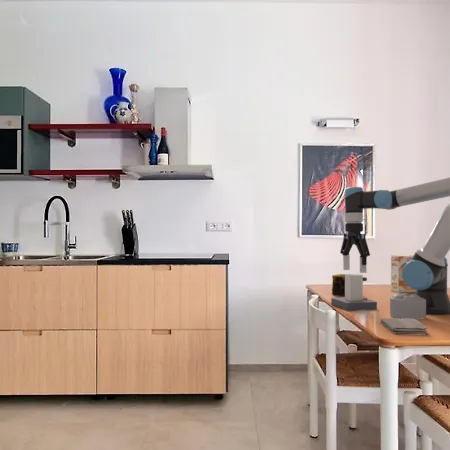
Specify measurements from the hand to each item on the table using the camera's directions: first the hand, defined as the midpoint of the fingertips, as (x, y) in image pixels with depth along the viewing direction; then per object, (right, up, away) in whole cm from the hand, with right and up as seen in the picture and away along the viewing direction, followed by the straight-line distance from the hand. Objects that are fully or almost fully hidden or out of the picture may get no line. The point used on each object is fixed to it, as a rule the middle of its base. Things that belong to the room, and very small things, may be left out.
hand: (354, 271), depth 197 cm
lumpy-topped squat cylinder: (+15, -16, -20) cm, 30 cm away
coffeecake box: (+41, -16, +46) cm, 64 cm away
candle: (+5, -16, +35) cm, 38 cm away
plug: (+1, -15, +1) cm, 15 cm away
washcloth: (+5, -16, -41) cm, 44 cm away
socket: (0, -16, 0) cm, 16 cm away
